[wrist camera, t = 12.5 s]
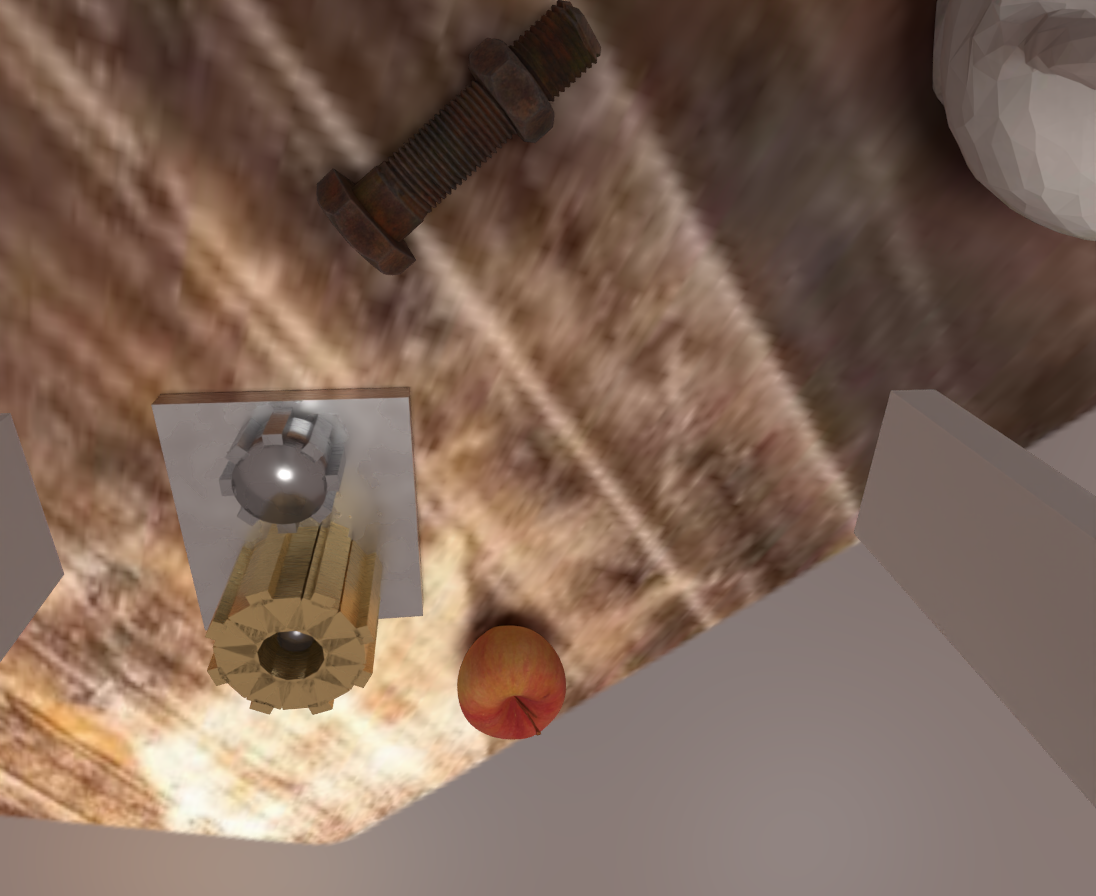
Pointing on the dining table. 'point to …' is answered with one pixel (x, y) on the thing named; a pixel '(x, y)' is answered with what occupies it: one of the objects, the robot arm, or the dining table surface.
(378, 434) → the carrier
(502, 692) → the apple
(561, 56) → the bolt
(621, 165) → the dining table surface
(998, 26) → the ceramic pitcher
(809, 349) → the dining table surface
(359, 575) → the gear
